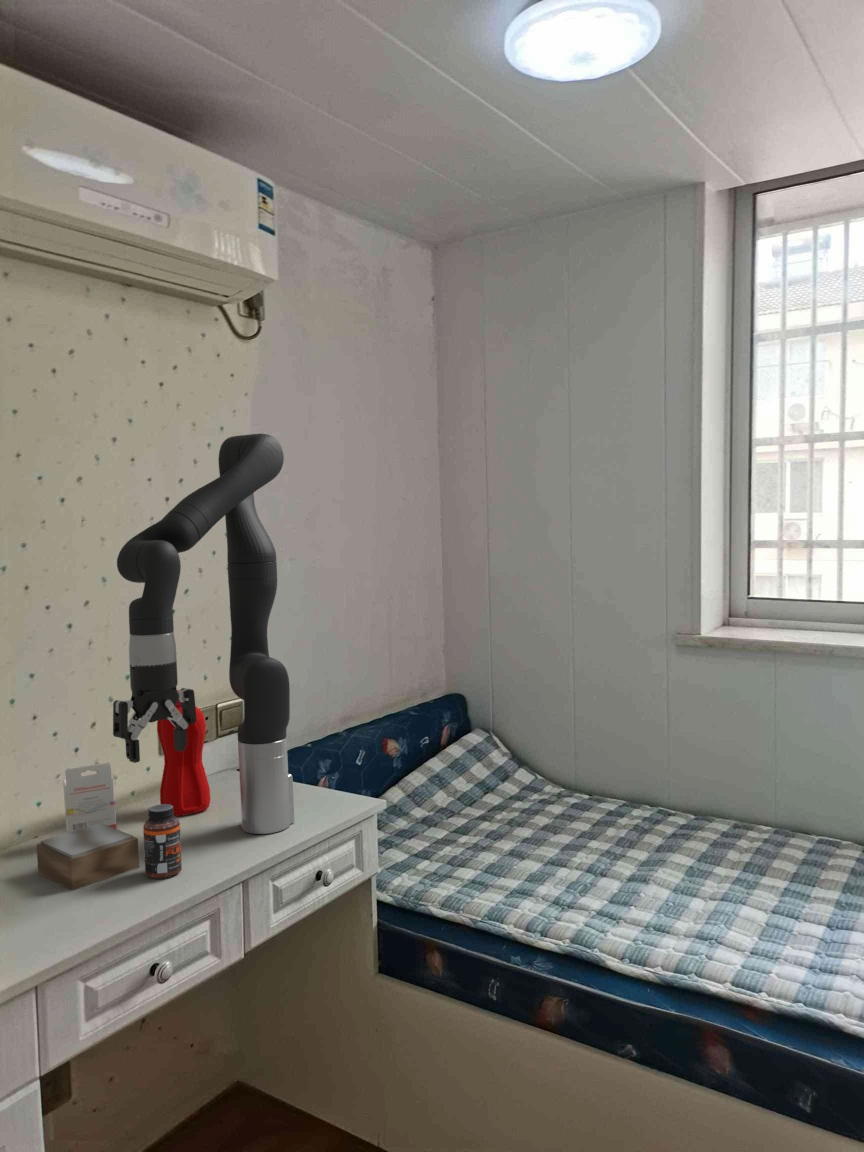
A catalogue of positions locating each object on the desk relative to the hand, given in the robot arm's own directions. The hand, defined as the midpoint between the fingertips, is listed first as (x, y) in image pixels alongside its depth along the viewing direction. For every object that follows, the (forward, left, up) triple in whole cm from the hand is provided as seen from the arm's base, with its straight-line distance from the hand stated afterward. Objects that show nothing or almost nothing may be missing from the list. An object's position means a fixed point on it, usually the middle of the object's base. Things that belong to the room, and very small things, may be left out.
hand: (157, 756), depth 148 cm
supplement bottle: (0, 0, -20) cm, 20 cm away
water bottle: (-22, -27, -20) cm, 40 cm away
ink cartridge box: (-1, -26, -20) cm, 33 cm away
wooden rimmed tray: (+7, -12, -20) cm, 24 cm away
